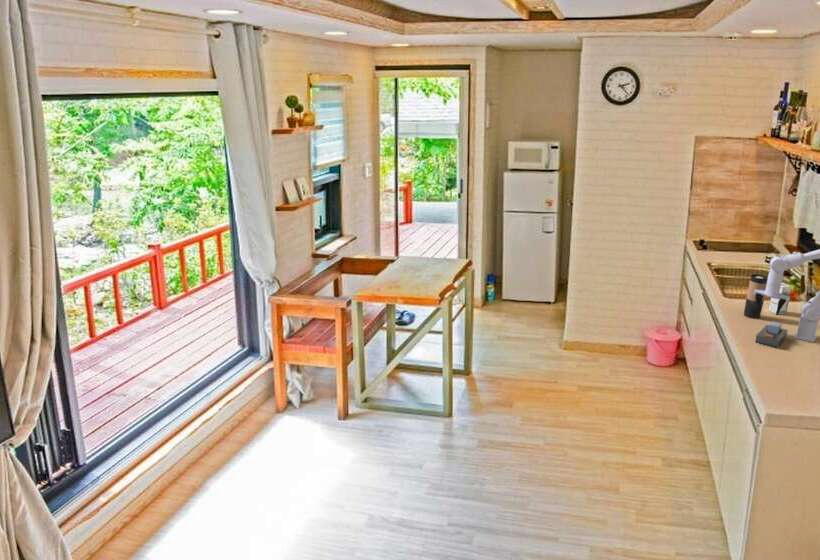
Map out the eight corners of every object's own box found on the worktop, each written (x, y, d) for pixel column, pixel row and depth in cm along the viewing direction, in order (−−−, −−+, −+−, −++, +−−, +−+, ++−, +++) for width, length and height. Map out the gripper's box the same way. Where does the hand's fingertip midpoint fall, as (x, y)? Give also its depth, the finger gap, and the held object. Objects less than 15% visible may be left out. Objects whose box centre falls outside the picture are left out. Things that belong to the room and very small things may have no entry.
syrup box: (777, 314, 356) (783, 286, 352) (767, 310, 362) (773, 282, 357) (786, 314, 358) (792, 285, 354) (776, 310, 363) (782, 282, 359)
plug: (769, 333, 327) (772, 321, 325) (779, 336, 325) (781, 323, 323) (766, 337, 322) (769, 324, 321) (776, 339, 320) (778, 327, 318)
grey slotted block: (764, 332, 331) (766, 323, 330) (786, 337, 326) (788, 328, 324) (755, 342, 317) (756, 333, 316) (777, 348, 312) (779, 339, 311)
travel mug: (763, 317, 351) (771, 277, 345) (754, 319, 347) (762, 279, 341) (748, 312, 357) (756, 273, 351) (739, 314, 353) (747, 275, 347)
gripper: (754, 282, 326) (748, 310, 330) (789, 289, 317) (783, 318, 321) (758, 278, 331) (752, 307, 335) (793, 286, 323) (786, 314, 327)
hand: (767, 312), depth 328 cm, fingers open, 7 cm apart
